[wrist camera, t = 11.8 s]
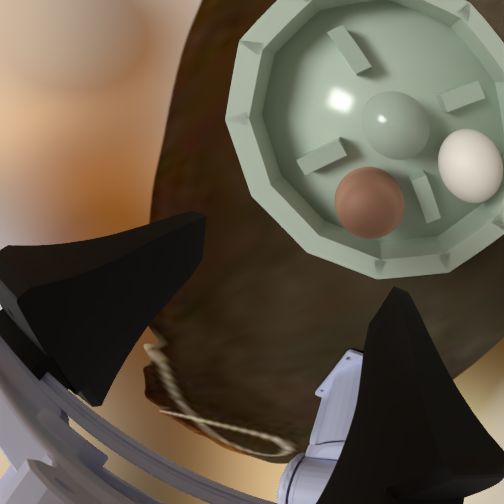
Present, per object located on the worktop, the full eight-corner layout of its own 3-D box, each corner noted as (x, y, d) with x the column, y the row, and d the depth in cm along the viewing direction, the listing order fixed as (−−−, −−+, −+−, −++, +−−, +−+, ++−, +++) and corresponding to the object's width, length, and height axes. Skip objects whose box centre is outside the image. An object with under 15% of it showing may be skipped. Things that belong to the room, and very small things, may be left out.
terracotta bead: (409, 175, 15) (422, 198, 11) (384, 229, 17) (388, 263, 14) (349, 149, 15) (346, 165, 12) (328, 207, 18) (320, 236, 14)
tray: (448, 284, 18) (455, 311, 15) (230, 201, 21) (211, 217, 19) (535, 68, 7) (558, 68, 5) (276, -34, 10) (260, -52, 8)
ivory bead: (422, 170, 14) (435, 196, 11) (443, 111, 12) (464, 123, 9) (473, 196, 13) (493, 227, 10) (496, 141, 11) (524, 162, 8)
